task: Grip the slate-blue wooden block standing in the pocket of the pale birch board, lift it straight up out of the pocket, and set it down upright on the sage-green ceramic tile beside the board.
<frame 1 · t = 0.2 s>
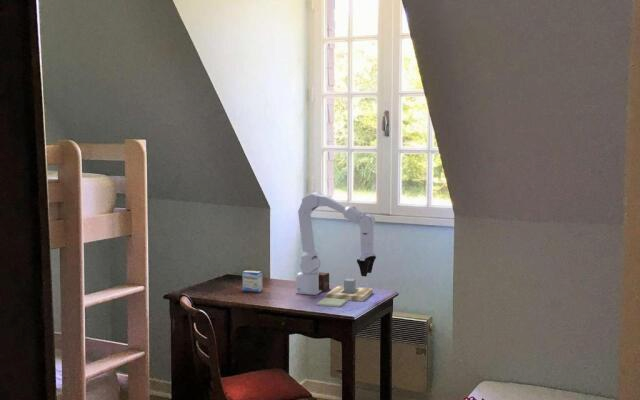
hand: (366, 274, 302), 10 cm above the table, tool pointing down, fingers open, 7 cm apart
medicine box: (252, 291, 316), on the table
slate block: (349, 287, 305), in the pocket board
tile: (332, 303, 293), on the table
box: (320, 290, 318), on the table
pocket board: (349, 295, 306), on the table
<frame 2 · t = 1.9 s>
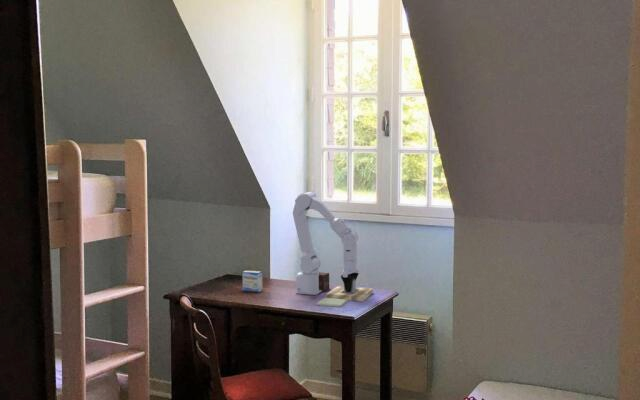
hand: (349, 290, 305), 2 cm above the table, tool pointing down, fingers closed on slate block, 4 cm apart
slate block: (349, 287, 305), in the pocket board, touching gripper
everything else where it was.
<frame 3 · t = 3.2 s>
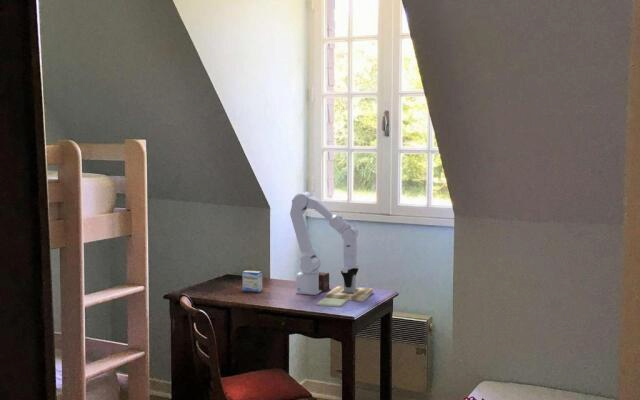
hand: (349, 286, 305), 4 cm above the table, tool pointing down, fingers closed on slate block, 4 cm apart
slate block: (349, 283, 305), point 6 cm above the table, touching gripper
everything else where it was.
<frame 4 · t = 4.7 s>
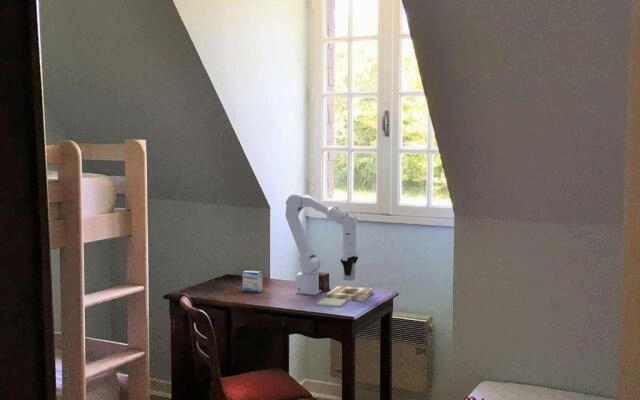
hand: (349, 274, 304), 9 cm above the table, tool pointing down, fingers closed on slate block, 4 cm apart
slate block: (349, 271, 304), point 11 cm above the table, touching gripper
everything else where it was.
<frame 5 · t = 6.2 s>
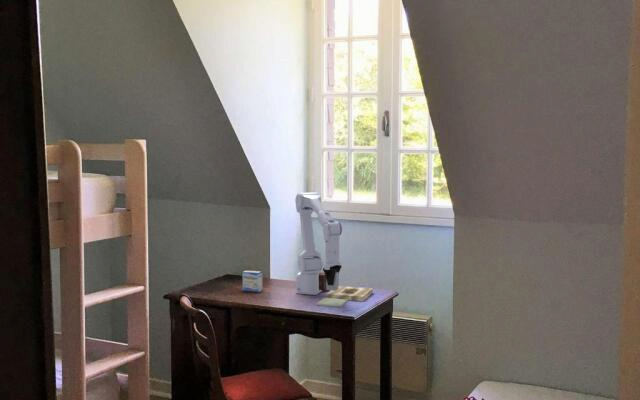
hand: (332, 283, 292), 8 cm above the table, tool pointing down, fingers closed on slate block, 4 cm apart
slate block: (332, 280, 292), point 9 cm above the table, touching gripper
everything else where it was.
when the fingers open (4 cm above the table, at t = 7.6 s): slate block drops 1 cm, resting on tile.
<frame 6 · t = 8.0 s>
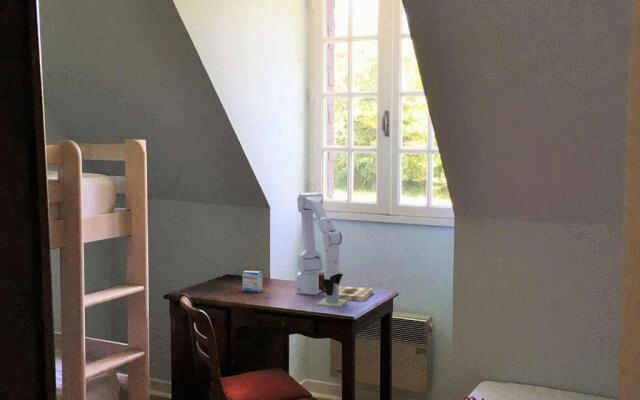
hand: (332, 293, 292), 4 cm above the table, tool pointing down, fingers open, 7 cm apart
slate block: (332, 292, 292), on the tile, point 4 cm above the table
everything else where it was.
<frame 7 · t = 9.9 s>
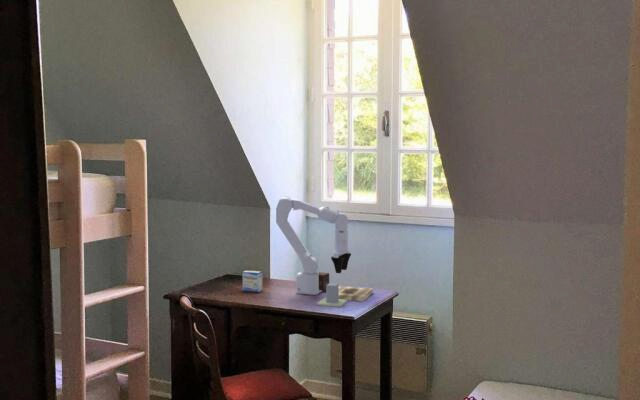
hand: (341, 271, 311), 9 cm above the table, tool pointing down, fingers open, 7 cm apart
nothing on the table moved.
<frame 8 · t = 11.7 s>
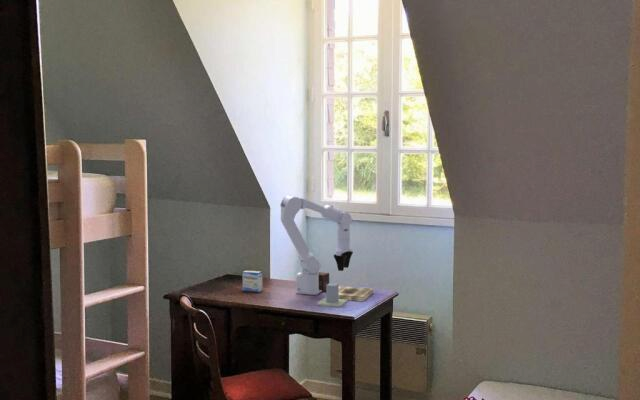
hand: (343, 269, 316), 9 cm above the table, tool pointing down, fingers open, 7 cm apart
nothing on the table moved.
at the end: slate block inside the target area on the tile (0.1 cm from its centre), point 4.3 cm above the tile's base; slate block tilted 0°; the gripper is holding nothing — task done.
